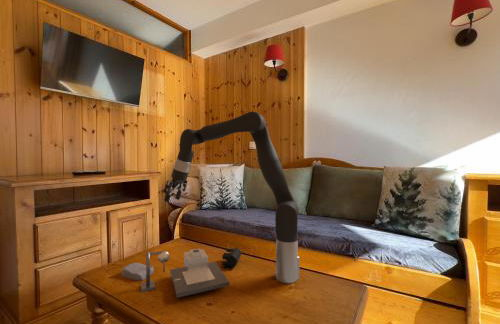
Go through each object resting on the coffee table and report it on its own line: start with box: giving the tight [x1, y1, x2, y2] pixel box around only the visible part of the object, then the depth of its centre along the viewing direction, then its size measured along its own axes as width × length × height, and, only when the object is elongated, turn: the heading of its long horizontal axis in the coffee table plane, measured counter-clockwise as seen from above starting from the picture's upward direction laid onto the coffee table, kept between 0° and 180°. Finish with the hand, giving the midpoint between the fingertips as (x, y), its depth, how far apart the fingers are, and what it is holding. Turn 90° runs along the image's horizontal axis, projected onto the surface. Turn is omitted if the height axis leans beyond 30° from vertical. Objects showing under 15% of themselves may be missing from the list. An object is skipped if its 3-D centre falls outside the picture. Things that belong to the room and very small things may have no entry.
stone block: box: [121, 262, 155, 282], centre depth 108 cm, size 12×5×10 cm
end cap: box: [221, 247, 242, 270], centre depth 119 cm, size 10×7×7 cm
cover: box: [183, 248, 209, 277], centre depth 105 cm, size 8×8×9 cm
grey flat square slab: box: [169, 261, 230, 299], centre depth 101 cm, size 20×20×2 cm
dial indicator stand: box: [140, 250, 171, 293], centre depth 98 cm, size 11×5×14 cm, turn 115°
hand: (172, 200), depth 120 cm, fingers open, 8 cm apart
